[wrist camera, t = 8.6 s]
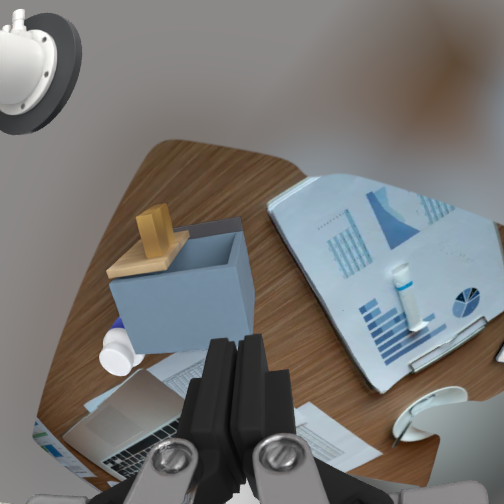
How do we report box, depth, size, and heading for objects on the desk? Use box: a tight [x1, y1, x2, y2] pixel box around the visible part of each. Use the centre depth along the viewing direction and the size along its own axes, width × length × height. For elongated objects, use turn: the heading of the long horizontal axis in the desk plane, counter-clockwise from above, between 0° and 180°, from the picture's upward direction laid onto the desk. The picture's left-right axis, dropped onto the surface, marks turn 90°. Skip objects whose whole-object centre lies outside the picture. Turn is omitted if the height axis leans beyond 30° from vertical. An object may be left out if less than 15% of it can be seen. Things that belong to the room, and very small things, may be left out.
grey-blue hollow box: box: [109, 216, 255, 355], centre depth 33 cm, size 10×12×11 cm
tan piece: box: [106, 203, 190, 278], centre depth 31 cm, size 5×6×10 cm
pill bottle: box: [99, 316, 145, 376], centre depth 37 cm, size 5×5×10 cm
